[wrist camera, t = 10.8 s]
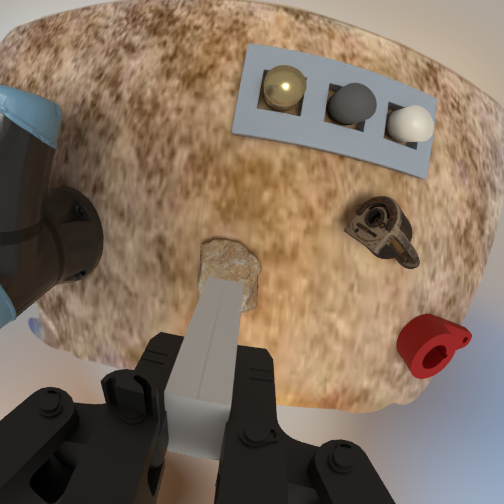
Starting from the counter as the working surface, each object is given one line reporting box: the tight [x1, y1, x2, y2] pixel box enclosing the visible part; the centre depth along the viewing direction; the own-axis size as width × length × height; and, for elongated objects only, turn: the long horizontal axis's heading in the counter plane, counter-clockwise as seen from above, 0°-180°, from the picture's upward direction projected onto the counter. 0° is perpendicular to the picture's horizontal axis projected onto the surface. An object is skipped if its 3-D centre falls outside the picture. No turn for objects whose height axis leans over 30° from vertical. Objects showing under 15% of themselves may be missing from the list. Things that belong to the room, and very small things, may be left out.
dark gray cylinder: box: [328, 83, 377, 125], centre depth 28 cm, size 4×4×5 cm
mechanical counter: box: [344, 196, 420, 269], centre depth 33 cm, size 7×13×10 cm, turn 68°
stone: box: [198, 239, 261, 313], centre depth 38 cm, size 8×10×4 cm
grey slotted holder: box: [232, 43, 437, 179], centre depth 31 cm, size 26×12×3 cm, turn 81°
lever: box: [397, 314, 472, 379], centre depth 41 cm, size 18×9×7 cm, turn 84°
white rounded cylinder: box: [386, 105, 434, 142], centre depth 29 cm, size 4×4×5 cm
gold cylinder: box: [263, 65, 307, 110], centre depth 28 cm, size 4×4×5 cm
